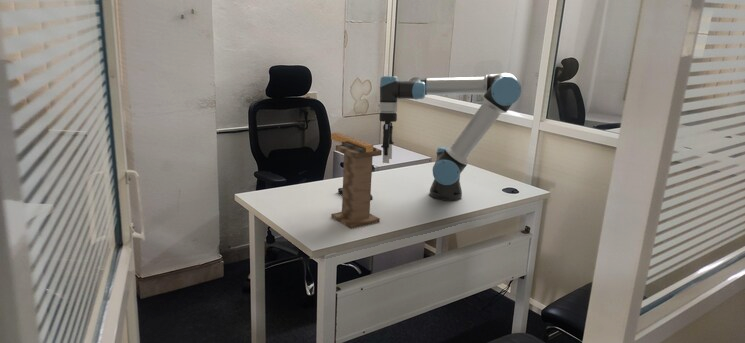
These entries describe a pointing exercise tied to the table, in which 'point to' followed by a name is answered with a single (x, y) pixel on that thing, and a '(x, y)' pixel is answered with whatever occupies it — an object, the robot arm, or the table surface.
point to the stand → (356, 186)
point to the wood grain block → (352, 141)
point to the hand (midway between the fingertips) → (387, 160)
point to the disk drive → (340, 191)
